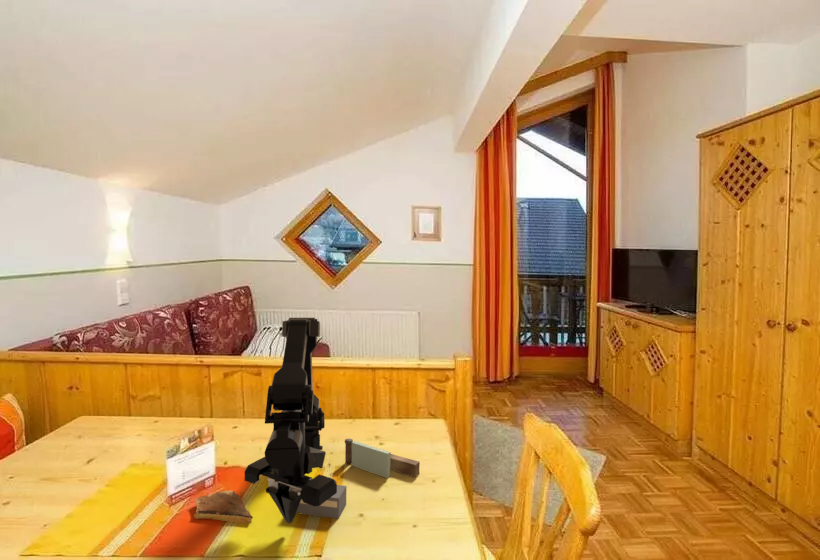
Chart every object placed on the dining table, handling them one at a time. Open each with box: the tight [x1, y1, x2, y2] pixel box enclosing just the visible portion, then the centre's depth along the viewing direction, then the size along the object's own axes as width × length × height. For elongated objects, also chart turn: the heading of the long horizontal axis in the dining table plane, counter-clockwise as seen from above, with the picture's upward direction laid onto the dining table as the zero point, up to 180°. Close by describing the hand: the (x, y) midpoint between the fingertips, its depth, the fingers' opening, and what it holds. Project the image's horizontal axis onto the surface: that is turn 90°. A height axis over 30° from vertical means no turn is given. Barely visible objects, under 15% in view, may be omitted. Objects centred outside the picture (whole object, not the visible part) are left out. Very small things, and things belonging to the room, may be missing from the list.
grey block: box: [296, 484, 347, 519], centre depth 98 cm, size 10×5×4 cm, turn 80°
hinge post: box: [344, 438, 354, 466], centre depth 119 cm, size 2×2×6 cm
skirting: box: [390, 453, 420, 478], centre depth 118 cm, size 18×2×3 cm, turn 61°
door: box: [351, 440, 392, 479], centre depth 116 cm, size 11×2×6 cm, turn 58°
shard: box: [193, 490, 254, 524], centre depth 96 cm, size 13×9×2 cm
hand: (289, 522), depth 90 cm, fingers closed
